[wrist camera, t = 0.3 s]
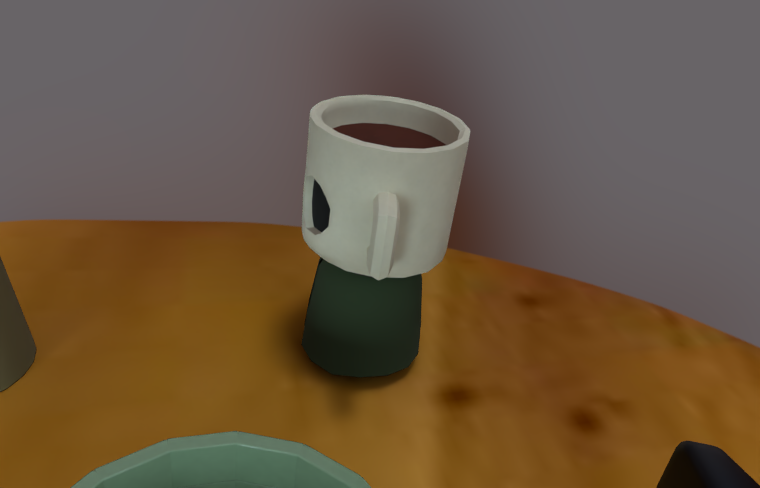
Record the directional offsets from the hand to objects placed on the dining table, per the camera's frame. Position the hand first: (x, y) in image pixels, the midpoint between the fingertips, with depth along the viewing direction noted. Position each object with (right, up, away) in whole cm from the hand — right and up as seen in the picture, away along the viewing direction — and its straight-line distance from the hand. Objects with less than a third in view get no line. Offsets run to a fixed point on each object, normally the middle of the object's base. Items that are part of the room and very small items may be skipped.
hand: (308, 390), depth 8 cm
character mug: (0, -4, +26) cm, 27 cm away
